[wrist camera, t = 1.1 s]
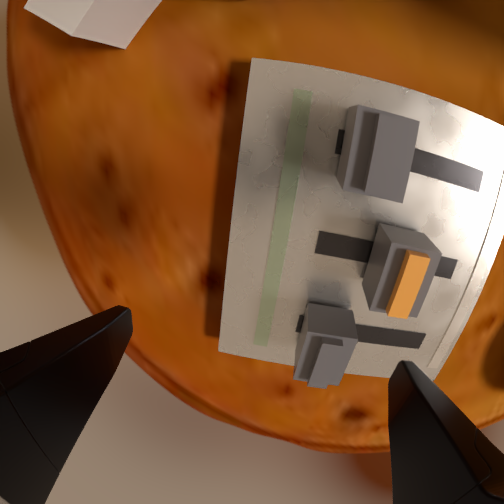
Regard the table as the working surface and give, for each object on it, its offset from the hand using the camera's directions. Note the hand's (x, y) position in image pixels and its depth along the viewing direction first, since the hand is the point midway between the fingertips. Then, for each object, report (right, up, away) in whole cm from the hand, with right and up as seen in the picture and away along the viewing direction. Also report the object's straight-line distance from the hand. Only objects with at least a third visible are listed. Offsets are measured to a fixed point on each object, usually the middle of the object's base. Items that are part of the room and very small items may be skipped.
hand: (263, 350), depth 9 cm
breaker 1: (+4, -2, +12) cm, 13 cm away
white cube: (-9, +20, +6) cm, 23 cm away
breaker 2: (+6, +8, +7) cm, 12 cm away
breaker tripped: (+8, +2, +9) cm, 12 cm away
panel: (+7, +3, +11) cm, 13 cm away
